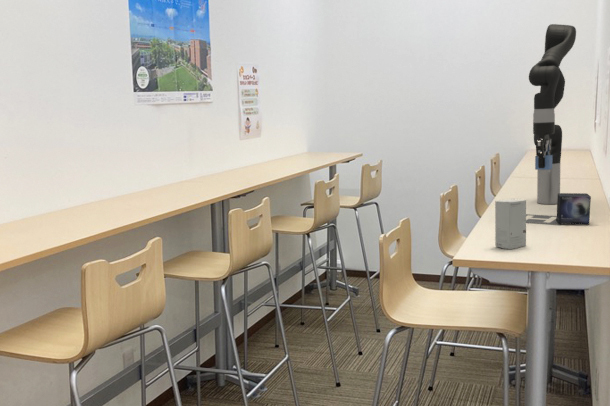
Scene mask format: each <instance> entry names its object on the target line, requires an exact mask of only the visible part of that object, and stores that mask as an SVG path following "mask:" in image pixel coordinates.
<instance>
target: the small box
mask: <svg viewBox="0 0 610 406" xmlns="http://www.w3.org/2000/svg"><path fill="white" fill-rule="evenodd" d="M591 199H592V196H591V195H589V193H587V192H586V193H584V192H583V193H581V192H580V193H576V192H575V193H574V192H573V193H571V192H563V193H562V192H560V193H558V198H557V204H556V216H557V218H556V221H557V222H558V223H559V224H561V225H583V226H584V225H585V226H586V225H590V218H591V217H590V215H591Z"/></svg>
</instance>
